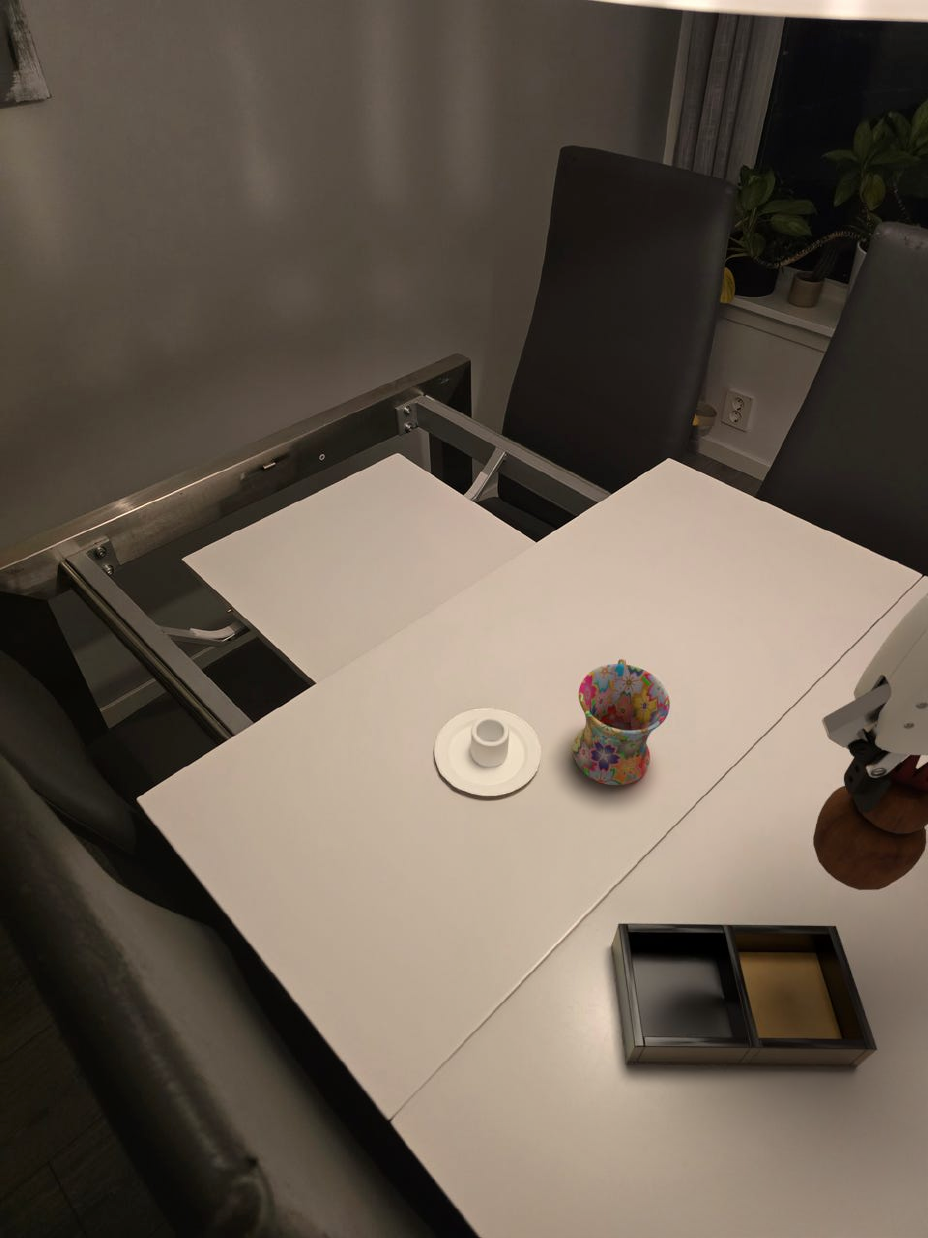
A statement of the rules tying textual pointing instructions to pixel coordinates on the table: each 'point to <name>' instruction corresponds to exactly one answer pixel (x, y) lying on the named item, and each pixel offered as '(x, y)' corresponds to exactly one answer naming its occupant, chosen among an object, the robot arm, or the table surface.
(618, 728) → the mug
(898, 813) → the wooden figurine
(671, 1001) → the divided tray
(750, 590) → the table surface
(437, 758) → the candle holder
